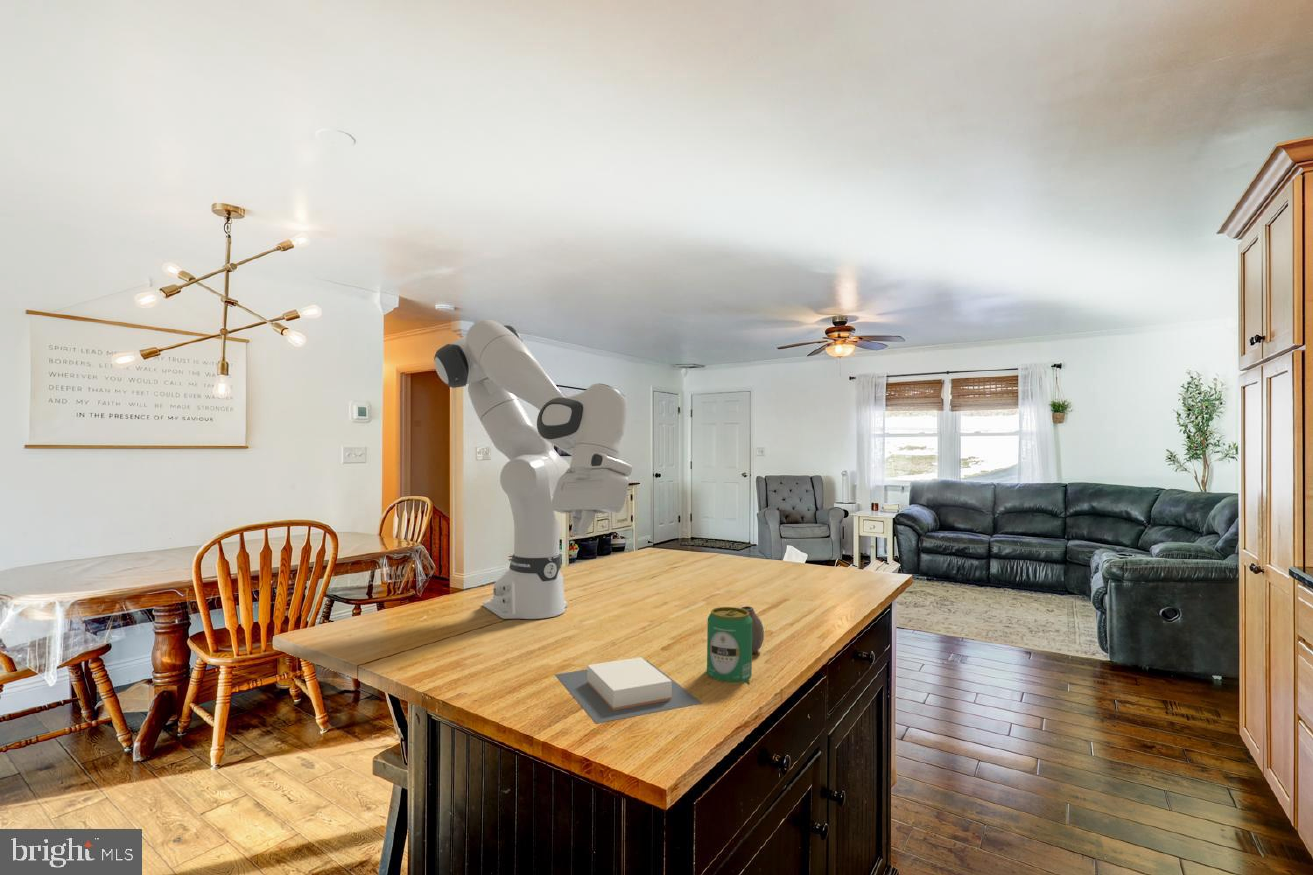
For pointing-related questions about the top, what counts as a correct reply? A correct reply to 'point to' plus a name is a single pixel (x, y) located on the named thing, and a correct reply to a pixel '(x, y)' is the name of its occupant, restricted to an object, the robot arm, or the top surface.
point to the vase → (755, 629)
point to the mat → (605, 713)
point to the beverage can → (729, 644)
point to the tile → (629, 683)
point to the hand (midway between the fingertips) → (578, 535)
